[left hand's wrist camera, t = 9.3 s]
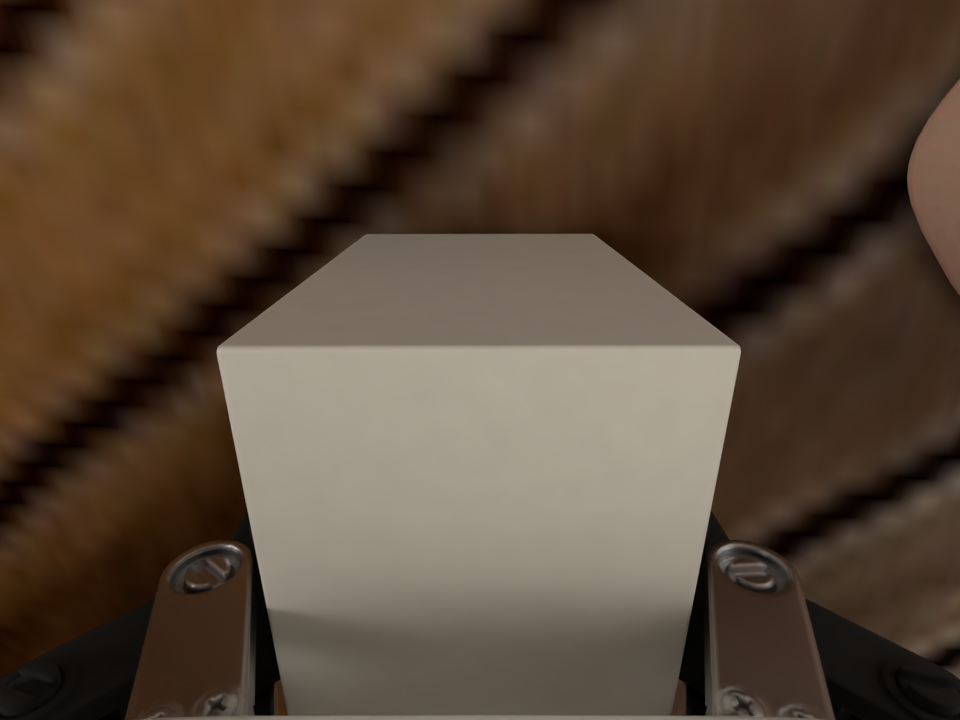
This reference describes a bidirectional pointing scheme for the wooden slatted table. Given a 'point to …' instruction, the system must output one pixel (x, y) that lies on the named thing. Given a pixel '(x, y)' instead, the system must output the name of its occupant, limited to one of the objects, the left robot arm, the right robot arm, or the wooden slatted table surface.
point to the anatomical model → (939, 183)
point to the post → (479, 476)
